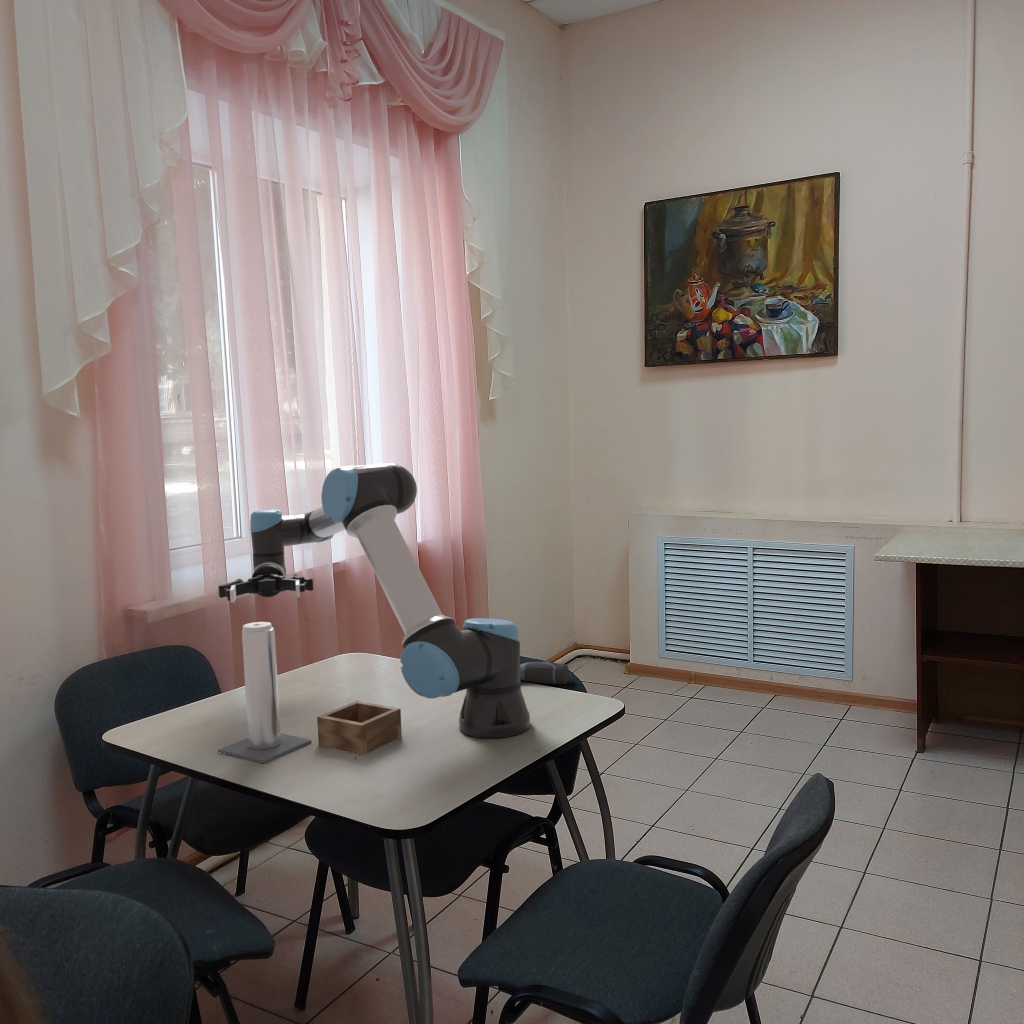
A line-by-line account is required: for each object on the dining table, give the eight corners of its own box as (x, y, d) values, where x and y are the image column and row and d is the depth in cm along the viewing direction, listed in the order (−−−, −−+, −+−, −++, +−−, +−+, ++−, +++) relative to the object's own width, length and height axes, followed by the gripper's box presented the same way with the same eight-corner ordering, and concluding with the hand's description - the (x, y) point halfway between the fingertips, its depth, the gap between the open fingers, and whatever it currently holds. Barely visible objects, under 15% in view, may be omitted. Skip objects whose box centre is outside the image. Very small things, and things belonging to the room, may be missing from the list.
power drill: (548, 700, 214) (470, 693, 222) (573, 678, 231) (500, 673, 239) (548, 677, 214) (470, 672, 221) (573, 658, 231) (499, 653, 238)
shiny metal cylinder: (272, 750, 183) (265, 627, 181) (242, 749, 184) (235, 627, 182) (286, 739, 190) (280, 620, 187) (257, 738, 191) (250, 620, 188)
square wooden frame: (401, 736, 191) (400, 708, 190) (363, 755, 181) (361, 725, 180) (358, 728, 197) (356, 700, 197) (318, 745, 187) (317, 716, 187)
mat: (311, 742, 189) (311, 739, 189) (263, 763, 178) (263, 760, 178) (266, 733, 196) (266, 730, 196) (218, 752, 185) (218, 749, 185)
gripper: (323, 590, 219) (325, 606, 199) (214, 599, 214) (205, 616, 193) (321, 559, 219) (323, 571, 198) (211, 567, 213) (202, 580, 193)
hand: (265, 593), depth 196 cm, fingers open, 13 cm apart
